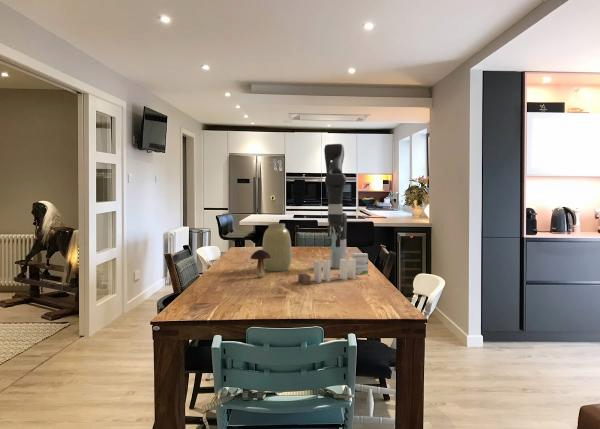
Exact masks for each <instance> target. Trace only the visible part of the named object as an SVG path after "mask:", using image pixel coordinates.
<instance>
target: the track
mask: <svg viewBox="0 0 600 429" xmlns="http://www.w3.org/2000/svg"><path fill="white" fill-rule="evenodd" d="M297 275H298V277H297V280H294V281H293V282H294V283H295V284H298V285H301V286H310V285H318V284H319V285H320V284H328V283H331V284H332V283H338V282H339V283H341V282H350V281H351V282H352V281H360V280H363V278H362V277H358V276H356V279H351V278H348V275H347V280H344V279H341V278H340V276H337V277H330V281H328V282H327V281H325V280H323V278H321V282H316V281H314V279H311V278H312V277H311V275H310V274H307V273H304V272H303V273H302V272H300V273H298V274H297Z"/></svg>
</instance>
